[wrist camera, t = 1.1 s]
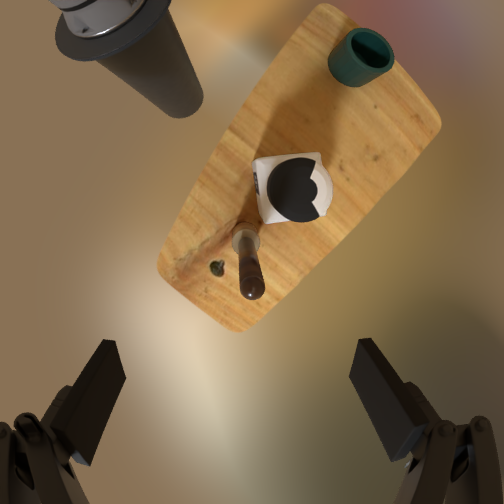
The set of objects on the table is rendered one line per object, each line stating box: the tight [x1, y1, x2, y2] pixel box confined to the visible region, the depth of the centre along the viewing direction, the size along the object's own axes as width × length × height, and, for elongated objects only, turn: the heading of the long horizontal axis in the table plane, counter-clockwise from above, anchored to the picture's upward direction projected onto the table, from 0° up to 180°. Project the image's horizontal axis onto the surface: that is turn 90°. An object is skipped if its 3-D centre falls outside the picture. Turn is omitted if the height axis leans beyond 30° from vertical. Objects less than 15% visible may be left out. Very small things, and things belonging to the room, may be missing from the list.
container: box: [252, 152, 333, 224], centre depth 32 cm, size 8×8×13 cm
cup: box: [328, 28, 394, 87], centre depth 30 cm, size 7×7×8 cm
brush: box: [232, 222, 265, 300], centre depth 30 cm, size 4×4×20 cm
